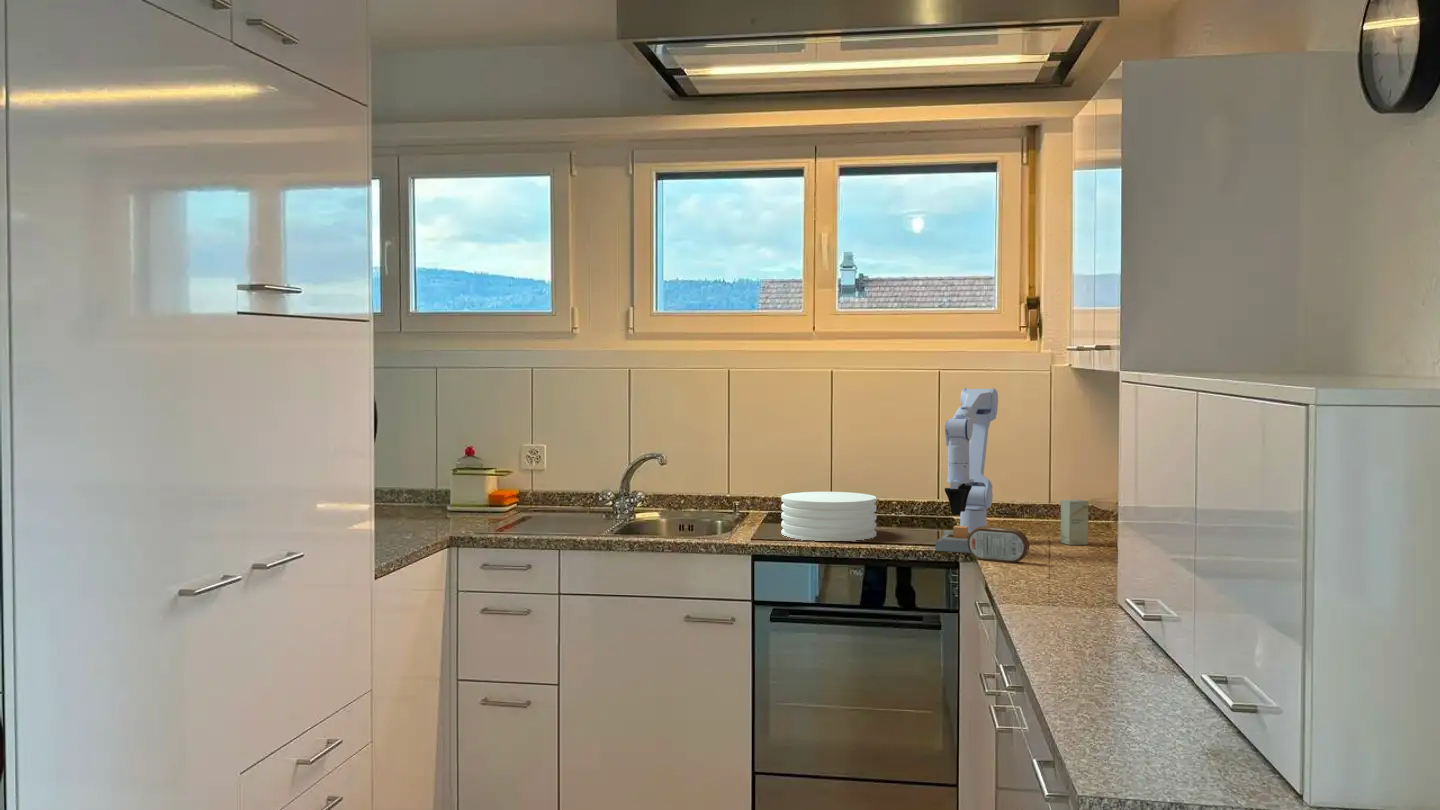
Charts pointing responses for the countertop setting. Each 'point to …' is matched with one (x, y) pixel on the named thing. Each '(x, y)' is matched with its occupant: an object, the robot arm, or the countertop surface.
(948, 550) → the nested square metal frame
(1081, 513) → the skincare box
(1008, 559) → the tin
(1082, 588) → the countertop surface
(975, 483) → the robot arm
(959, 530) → the tan cardboard-like brick
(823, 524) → the plate stack
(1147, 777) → the countertop surface
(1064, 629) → the countertop surface
